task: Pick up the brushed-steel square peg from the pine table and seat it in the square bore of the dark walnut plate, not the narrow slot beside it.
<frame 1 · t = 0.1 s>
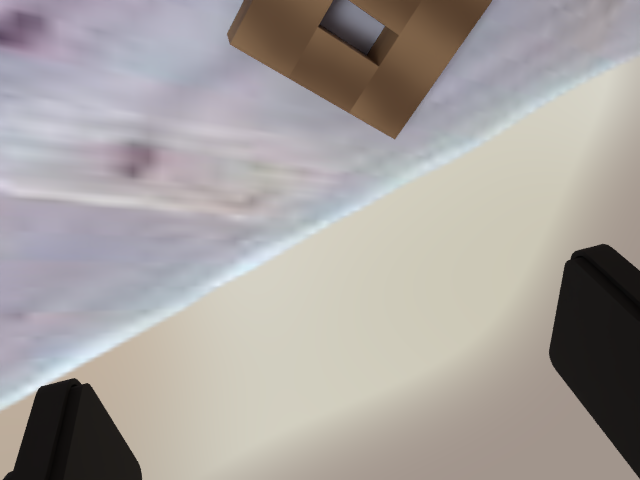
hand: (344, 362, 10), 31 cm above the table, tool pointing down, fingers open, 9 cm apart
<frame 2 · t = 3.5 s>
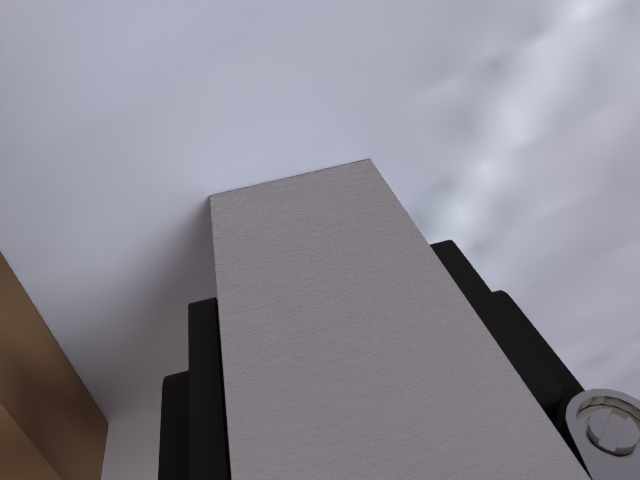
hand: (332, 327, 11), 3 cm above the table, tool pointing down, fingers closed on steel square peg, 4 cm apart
steel square peg: (304, 243, 14), on the table, touching gripper
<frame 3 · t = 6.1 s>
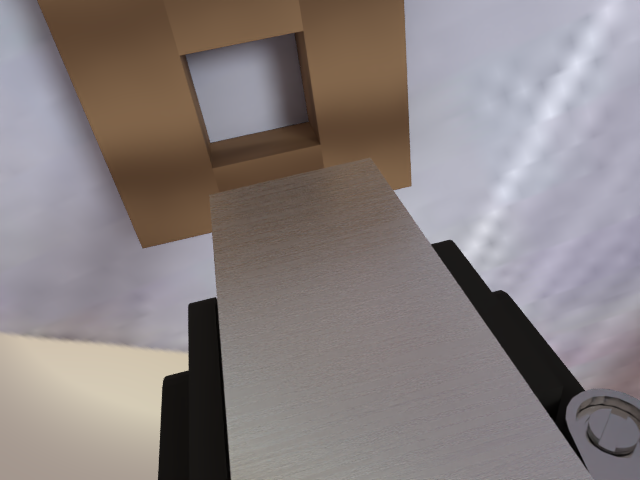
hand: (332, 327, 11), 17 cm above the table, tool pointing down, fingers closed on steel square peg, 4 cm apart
steel square peg: (304, 242, 14), point 14 cm above the table, touching gripper
when the fingers open (4 cm above the table, at t = 9.0 s): steel square peg stays where it is, resting in walnut bore plate.
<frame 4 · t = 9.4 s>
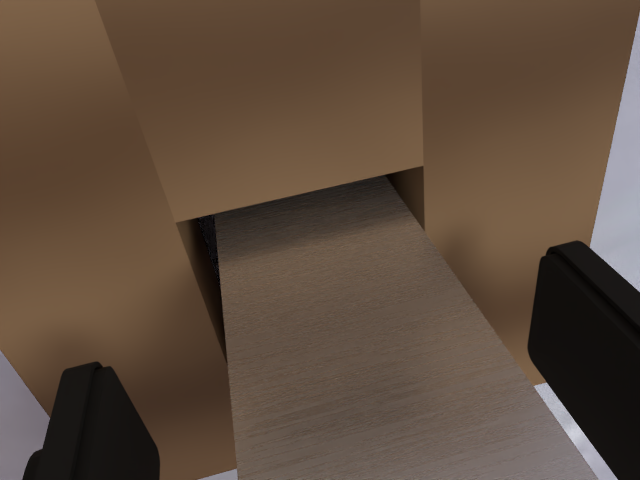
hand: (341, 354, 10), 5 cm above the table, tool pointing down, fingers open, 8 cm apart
walnut bore plate: (269, 81, 12), on the table
steel square peg: (299, 221, 14), resting in walnut bore plate
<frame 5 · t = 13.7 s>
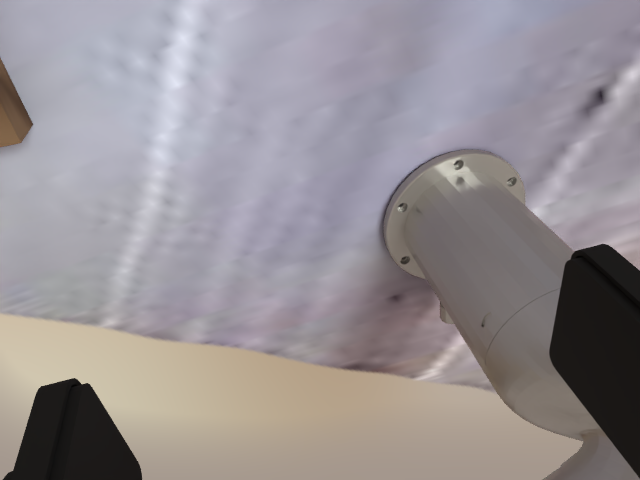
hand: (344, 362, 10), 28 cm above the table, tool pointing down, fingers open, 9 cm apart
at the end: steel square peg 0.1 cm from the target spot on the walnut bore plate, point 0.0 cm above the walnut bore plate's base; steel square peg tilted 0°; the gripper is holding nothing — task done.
